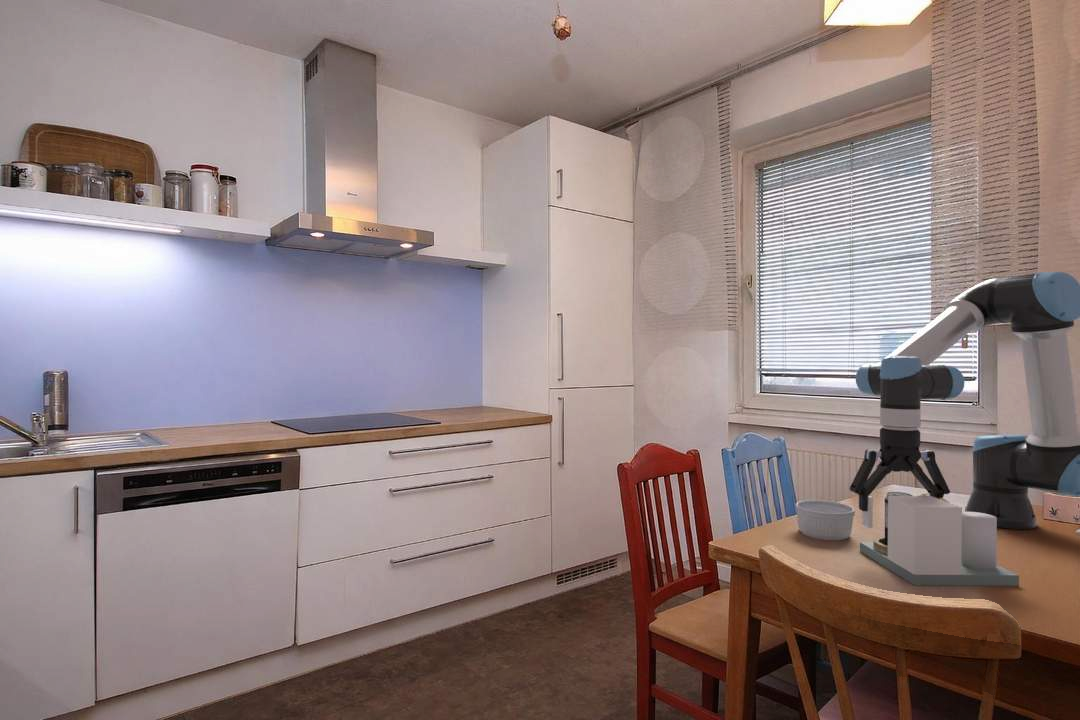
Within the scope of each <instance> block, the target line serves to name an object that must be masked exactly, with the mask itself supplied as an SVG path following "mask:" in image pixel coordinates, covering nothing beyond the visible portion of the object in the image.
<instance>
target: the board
mask: <svg viewBox="0 0 1080 720" xmlns="http://www.w3.org/2000/svg"><path fill="white" fill-rule="evenodd" d="M997 529H998V527H997V518H996V517H995V516H993V515H989V514H985V513H978V512H965V511H962V554H961V575H914V574H912V573H911V572H909V571H907V570H906V569H904V568H902V567H901V566H899V565H897V564H896V563H894V562H892V561H891V560H889V559H888V554H885V553H881V552H879V551H877V550H876V549H874V548H873V541H872V542H871V541H870V542H869V541H868V542H867V541H865V542H863V541H860V542H859V552H861V553H862V554H863V555H865V556H867V557H868V558H870V559H872V560H873V561H875V562H877V563H878V564H880V565H882V566H883V567H885V568H886V569H888V570H889V571H891V572H893V573H894V574H896V575H898V576H899V577H901V578H902V579H904V580H905V581H907V582H908V583H910V584H912V585H913V584H914V585H913V586H984V587H985V586H989V587H990V586H991V587H992V586H996V587H997V586H1003V587H1005V586H1007V587H1009V586H1010V587H1012V586H1013V587H1014V586H1016V587H1019V586H1020V575H1019V574H1017V573H1015V572H1013V571H1011V570H1008V569H1007V568H1004V567H1002V566H999V565H997V536H998V535H997V534H998V532H997Z"/></svg>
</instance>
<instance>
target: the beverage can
mask: <svg viewBox="0 0 1080 720" xmlns="http://www.w3.org/2000/svg"><path fill="white" fill-rule="evenodd" d="M888 496H914V495H913V494H911V493H907V492H902V491H889V492H886V496H885V498H884V537H885V545H887V546H888Z"/></svg>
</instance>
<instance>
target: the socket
mask: <svg viewBox="0 0 1080 720" xmlns="http://www.w3.org/2000/svg"><path fill="white" fill-rule="evenodd" d="M872 542H873V548H874V549H876V550H877V551H879V552H881V553H885V554H888V546H887V545H885V536H878V537H874V538H873V541H872Z"/></svg>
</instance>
